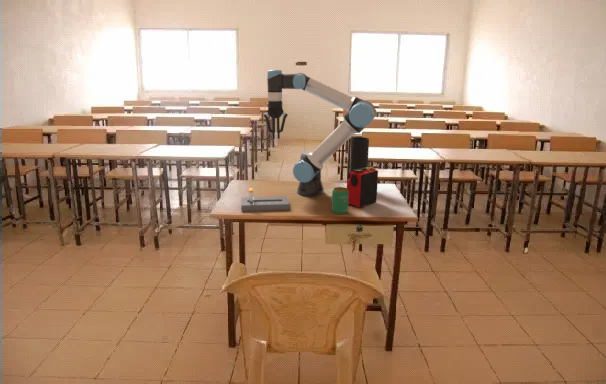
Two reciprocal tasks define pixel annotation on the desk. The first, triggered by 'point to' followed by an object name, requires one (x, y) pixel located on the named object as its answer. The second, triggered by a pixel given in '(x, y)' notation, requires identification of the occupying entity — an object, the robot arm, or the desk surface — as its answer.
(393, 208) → the desk surface
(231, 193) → the desk surface
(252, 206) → the console
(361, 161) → the vase
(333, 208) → the beverage can
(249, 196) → the fader
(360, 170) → the radio
